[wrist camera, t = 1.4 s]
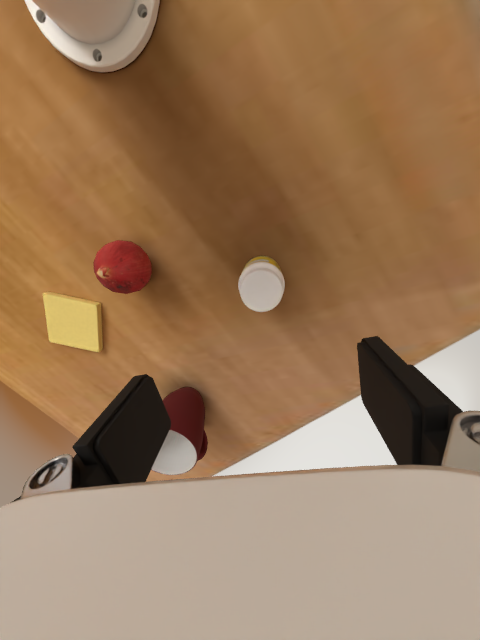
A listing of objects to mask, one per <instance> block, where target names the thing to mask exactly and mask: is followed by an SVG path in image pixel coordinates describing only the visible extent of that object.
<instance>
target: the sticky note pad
mask: <svg viewBox="0 0 480 640" xmlns="http://www.w3.org/2000/svg"><path fill="white" fill-rule="evenodd" d="M43 300H44V307H45V314H46V322H47V329H48V336H49V342H53V343H58V344H62V345H67V346H71V347H76V348H80V349H85V350H90V351H94V352H100V351H101V350H103V340H102V313H101V303H99V302H95V301H90V300H85V299H81V298H76V297H71V296H67V295H62V294H58V293H53V292H45V293H43Z"/></svg>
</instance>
